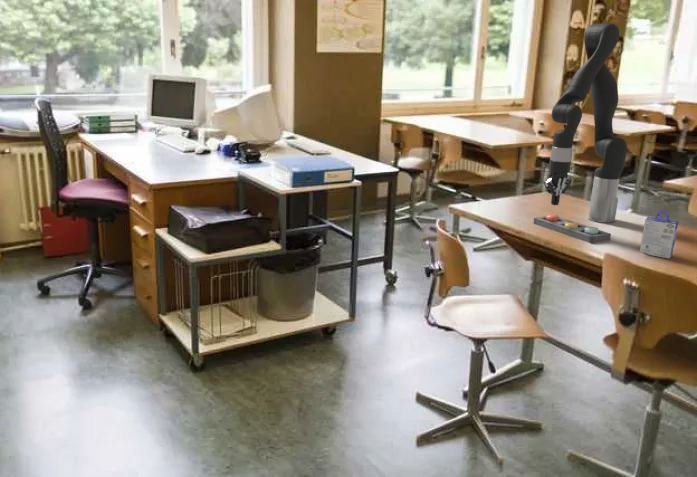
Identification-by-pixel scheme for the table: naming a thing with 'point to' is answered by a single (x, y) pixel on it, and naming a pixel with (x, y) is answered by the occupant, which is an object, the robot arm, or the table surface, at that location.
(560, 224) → the button panel
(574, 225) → the ochre button
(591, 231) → the teal button
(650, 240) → the ink cartridge box
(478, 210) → the table surface
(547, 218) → the red button
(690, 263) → the table surface
